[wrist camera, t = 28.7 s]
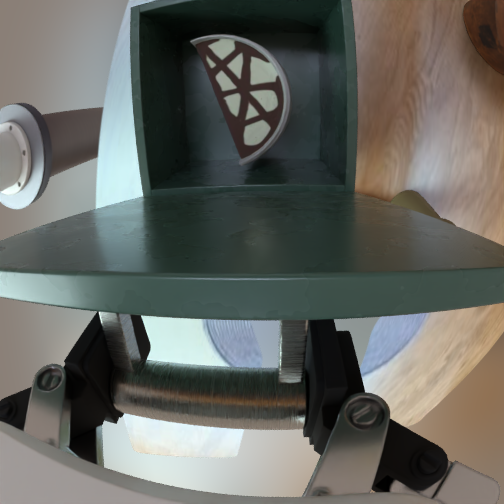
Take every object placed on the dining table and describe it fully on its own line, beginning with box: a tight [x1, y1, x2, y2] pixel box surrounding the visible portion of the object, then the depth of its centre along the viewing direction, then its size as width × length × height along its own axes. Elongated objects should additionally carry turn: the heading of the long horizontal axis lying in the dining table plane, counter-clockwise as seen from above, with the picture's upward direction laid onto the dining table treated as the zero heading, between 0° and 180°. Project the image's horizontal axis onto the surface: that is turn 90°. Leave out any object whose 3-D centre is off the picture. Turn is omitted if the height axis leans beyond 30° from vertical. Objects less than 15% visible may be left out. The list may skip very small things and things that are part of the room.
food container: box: [190, 34, 292, 166], centre depth 24 cm, size 12×6×10 cm, turn 20°
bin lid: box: [0, 191, 504, 430], centre depth 14 cm, size 17×17×6 cm
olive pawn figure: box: [391, 190, 456, 226], centre depth 29 cm, size 6×6×11 cm
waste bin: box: [130, 0, 358, 197], centre depth 23 cm, size 17×17×13 cm
